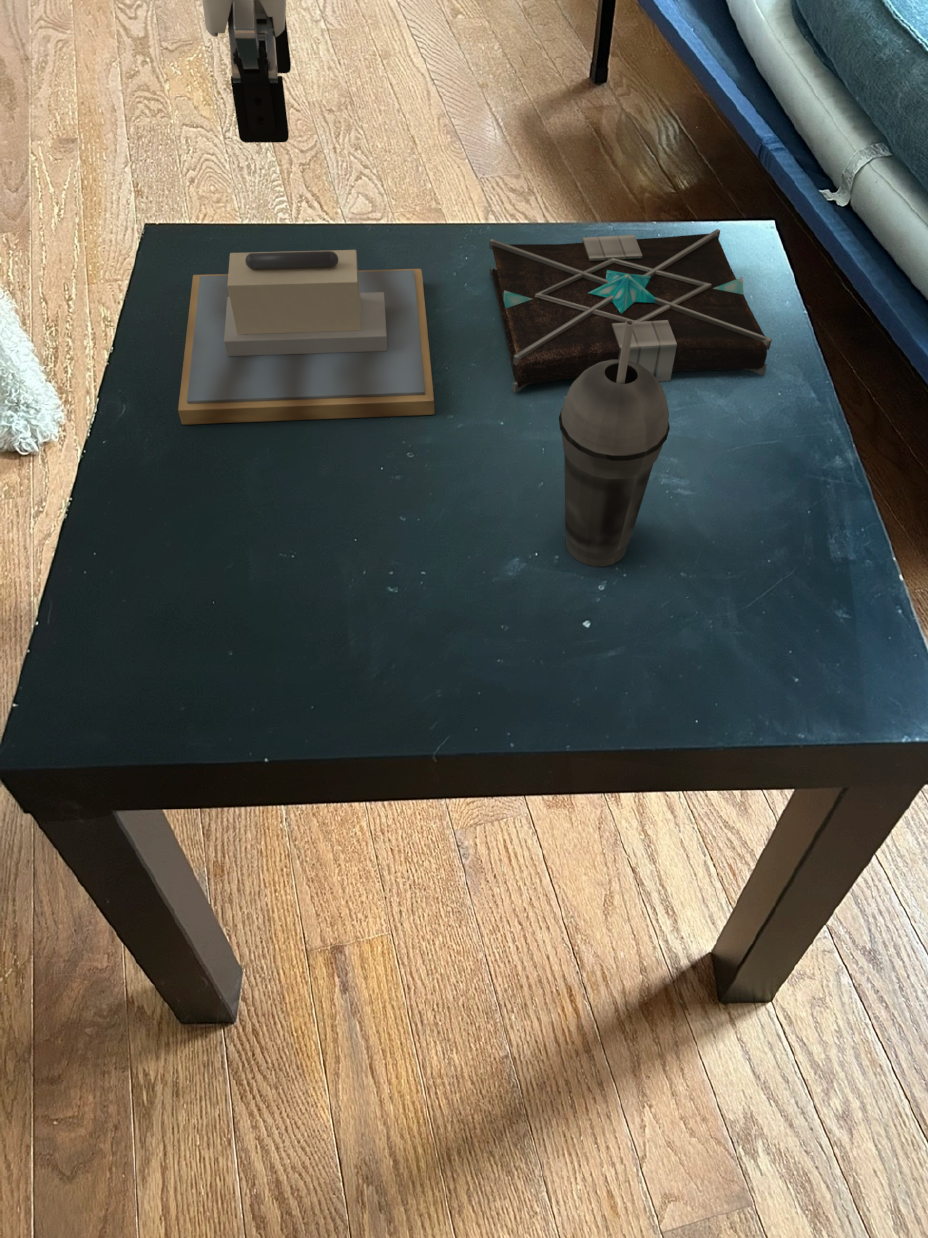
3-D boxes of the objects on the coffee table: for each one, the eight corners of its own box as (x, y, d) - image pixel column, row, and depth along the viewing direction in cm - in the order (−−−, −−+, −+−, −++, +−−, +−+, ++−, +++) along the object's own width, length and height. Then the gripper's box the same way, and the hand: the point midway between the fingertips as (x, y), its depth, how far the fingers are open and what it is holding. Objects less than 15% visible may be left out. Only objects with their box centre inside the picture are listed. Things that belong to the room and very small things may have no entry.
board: (181, 425, 87) (177, 407, 86) (196, 289, 98) (192, 271, 96) (434, 415, 89) (434, 397, 88) (422, 283, 100) (421, 265, 98)
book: (512, 395, 91) (515, 344, 87) (484, 274, 101) (485, 224, 96) (765, 377, 93) (779, 327, 89) (714, 262, 103) (724, 212, 99)
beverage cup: (647, 513, 83) (692, 279, 67) (644, 585, 79) (691, 354, 63) (551, 504, 83) (573, 268, 67) (543, 575, 79) (564, 342, 63)
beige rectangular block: (226, 356, 90) (210, 278, 84) (230, 311, 93) (214, 233, 87) (387, 351, 91) (382, 273, 85) (384, 307, 94) (379, 229, 88)
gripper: (171, -252, 67) (218, 47, 81) (145, -153, 57) (203, 170, 70) (296, -248, 68) (321, 48, 81) (292, -150, 57) (322, 169, 71)
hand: (266, 104), depth 76 cm, fingers open, 9 cm apart
